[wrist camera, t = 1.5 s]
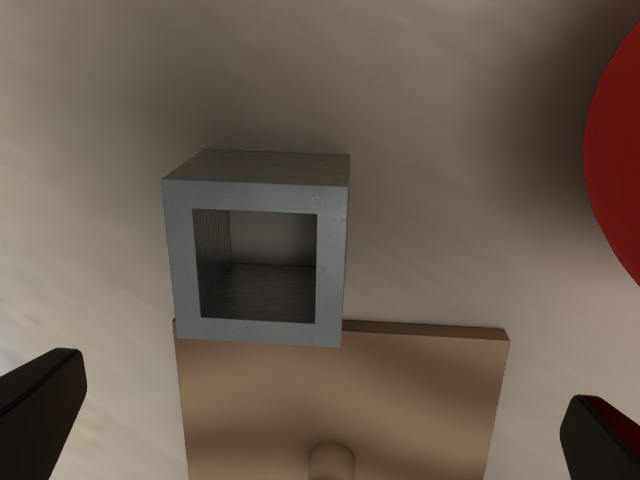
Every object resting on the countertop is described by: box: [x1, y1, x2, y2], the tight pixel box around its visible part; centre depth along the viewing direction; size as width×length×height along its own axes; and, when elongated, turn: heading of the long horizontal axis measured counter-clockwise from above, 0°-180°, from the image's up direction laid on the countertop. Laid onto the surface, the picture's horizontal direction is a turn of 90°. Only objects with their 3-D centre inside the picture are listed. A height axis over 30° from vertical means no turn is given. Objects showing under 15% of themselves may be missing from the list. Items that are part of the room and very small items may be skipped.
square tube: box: [161, 149, 350, 348], centre depth 20 cm, size 6×6×5 cm
